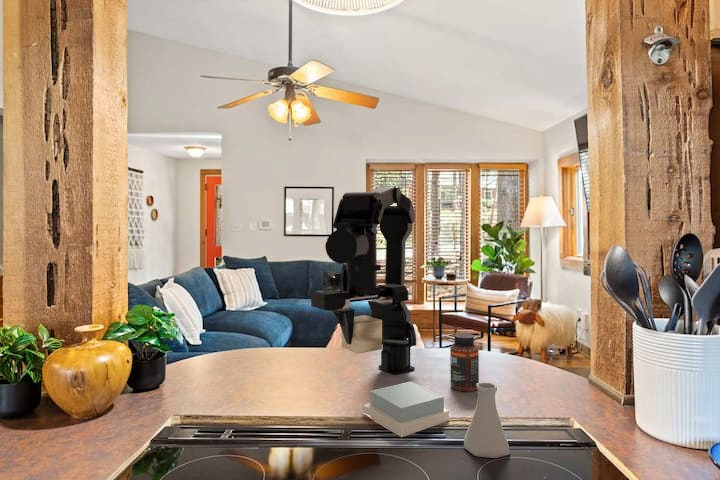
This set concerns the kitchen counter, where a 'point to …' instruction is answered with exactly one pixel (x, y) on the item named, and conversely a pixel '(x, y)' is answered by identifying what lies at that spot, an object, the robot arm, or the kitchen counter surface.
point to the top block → (406, 401)
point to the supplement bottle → (464, 363)
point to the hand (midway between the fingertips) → (361, 341)
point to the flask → (486, 426)
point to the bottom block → (407, 426)
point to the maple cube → (365, 335)
